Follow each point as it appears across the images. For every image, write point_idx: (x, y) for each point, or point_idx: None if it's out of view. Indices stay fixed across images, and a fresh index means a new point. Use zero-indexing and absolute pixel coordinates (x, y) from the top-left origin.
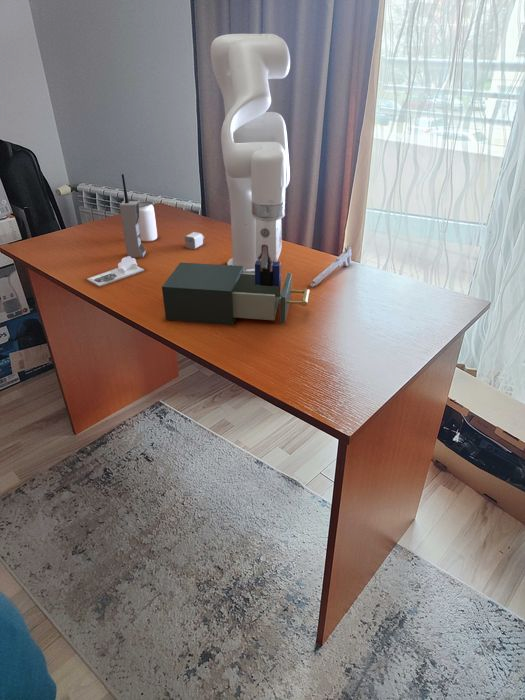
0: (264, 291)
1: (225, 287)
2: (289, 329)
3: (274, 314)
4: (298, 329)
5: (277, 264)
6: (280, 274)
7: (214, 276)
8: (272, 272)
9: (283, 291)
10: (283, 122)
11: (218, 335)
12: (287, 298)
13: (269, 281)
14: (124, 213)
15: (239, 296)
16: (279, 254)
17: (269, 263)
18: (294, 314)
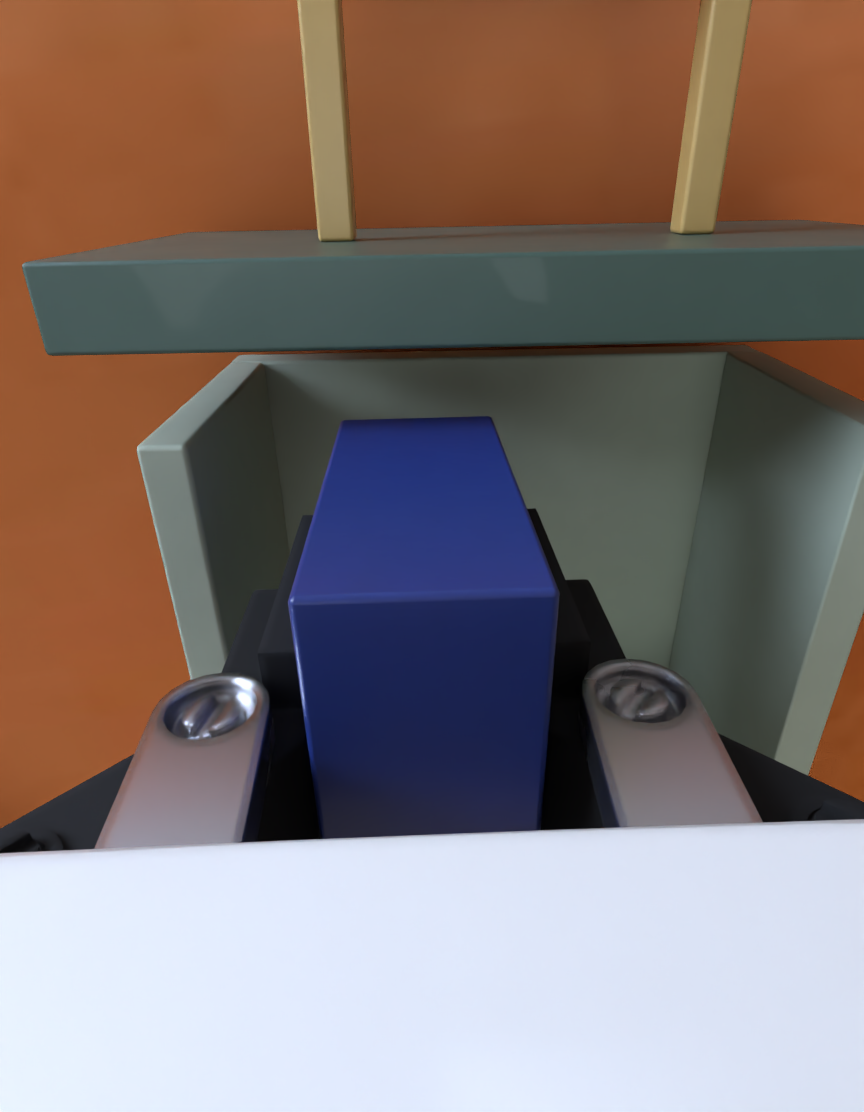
0: (276, 549)
1: None
2: (818, 158)
3: (777, 360)
4: (829, 42)
5: (475, 651)
6: (343, 467)
7: None
8: (584, 640)
9: (819, 312)
10: None
11: (852, 703)
12: (653, 236)
13: (593, 591)
14: None
15: None
16: (516, 867)
17: (445, 806)
18: (484, 144)
